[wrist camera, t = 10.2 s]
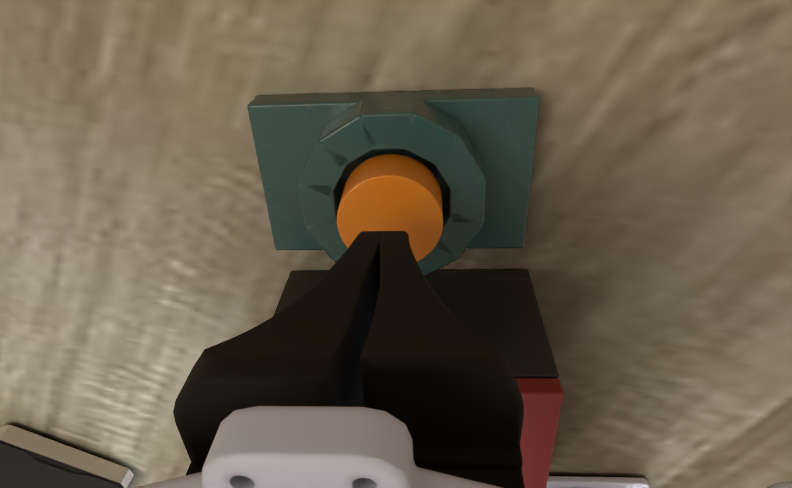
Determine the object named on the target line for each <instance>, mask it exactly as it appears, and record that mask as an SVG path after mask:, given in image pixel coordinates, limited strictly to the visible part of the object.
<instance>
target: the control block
mask: <svg viewBox="0 0 792 488" xmlns="http://www.w3.org/2000/svg"><path fill="white" fill-rule="evenodd" d="M539 103H540V98H539V96H538V94H537V93H536V91H535V89H534V88H505V89H470V90H435V91H399V92H364V93H329V94H294V95H258V96H256V97H255V98H254V99H253V100H252V101H251V102H250V103H249V104H248V111H249V117H250V122H251V127H252V132H253V137H254V142H255V147H256V152H257V158H258V163H259V168H260V173H261V178H262V183H263V188H264V193H265V198H266V204H267V209H268V214H269V219H270V224H271V229H272V234H273V239H274V244H275V249H276V250H325V251H326V253H327V254H328V255H329V256H330V258H331V259H334V261H336V262H337V261H338V260H339V259H340V257H341V256H342V255H343V254H344V252H345V251H346V250H347V249H348V248H347V246H346V245H345V244H344V242H343V240H342V238H341V236H340V234H339V231H338V227H337V211H338V208H339V204H340V201H341V197H342V194H343V191H344V187H345V184H346V182H347V179H348V177H349V176H350V174H351V173H352V172H353V170H354V169H355V168H356V167H357V166H358V165H360V164H361V163H363V162H364V161H366V160H368V159H370V158H372V157H375V156H379V155H383V154H399V155H404V156H408V157H411V158H413V159H415V160H417V161H419V162H421V163H422V164H423V165H425V166H426V167H427V168H428V169H429V170H430V171H431V172H432V173H433V175H434V176H435V177H436V179H437V181H438V183H439V186H440V189H441V194H442V210H443V230H442V234H441V237H440V239H439V241H438V243H437V245H436V246H435V247H434V249H433V250H432V251H431V252H430V253H429V254H428V255H427V256H425V257H424V258H423V259H421V260H419V261H418V262H417V263H418V265H419V267H420V269H421V271H422V273H423V275H426V274H429V273H431V272H433V271H435V270H437V269H439V268H441V267H443V266H445V265H447V264H449V263H451V262H454V261H456V260H457V259H459V258H460V256H461V255H462V254H463V252H464V251H465V249H466V248H523V247H524V245H525V235H526V226H527V216H528V207H529V197H530V188H531V179H532V169H533V160H534V150H535V141H536V131H537V122H538V112H539Z"/></svg>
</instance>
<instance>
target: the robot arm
mask: <svg viewBox="0 0 792 488" xmlns="http://www.w3.org/2000/svg"><path fill="white" fill-rule="evenodd" d="M173 412H174V417H175V422H176V425H177V428H178V430H179V433H180V435H181V438H182V440H183V443H184V445H185V448H186V450H187V452H188V455H189V457H190V460H191V464H190V466H189V469H188V471H187V473H186V476H182V477H177V478H173V479H169V480H165V481H160V482H156V483H152V484H147V485H143V486H139V487H135V488H525V486H524V480H523V475H522V469H521V468H522V465H523V460H522V454H521V448H520V441H521V433H522V426H523V418H524V403H523V398H522V394H521V391H520V388H519V385H518V383H517V380H516V378H515V375H514V373H513V371H512V369H511V367H510V365H509V363H508V361H507V359H506V357H505V355H504V353H503V352H502V351H501V350H500V349H498V348H497V347H495V346H493V345H492V344H490V343H488V342H487V341H485V340H484V339H482V338H480V337H479V336H477V335H476V334H475V333H473V332H472V331H471V330H470V329H468V328H467V327H466V326H465V325H464V324H463V323H462V322H461V321H460V320H459V319H457V318H456V317H455V316H454V315H453V314H452V313H451V312H450V310H449V309H448V308H447V307H446V306H445V305H444V304H443V302H442V301H441V300H440V299H439V297H438V296H437V295H436V293H435V292H434V291H433V289H432V288H431V286H430V285H429V283H428V281H427V280H426V278H425V277H424V275H423V273H422V271H421V269H420V267H419V265H418V263H417V261H416V259H415V257H414V254H413V252H412V249H411V246H410V242H409V234H408V233H407V232H406V231H361V232H360V233H359V234H358V235H357V237H356V238H355V239H354V241H353V242H352V243H351V245H350V246H349V247H348V249H347V250H346V251H345V252H344V254H343V255H342V256H341V257H340V259H339V260H338V261H337V262H336V263H335V264H334V266H333V267H332V268H331V269H330V270H329V271H328V272H327V273H326V274H325V275H324V276H323V277H322V278H321V279H320V280H319V281H318V282H317V283H316V284H315V285H314V286H313V287H312V288H311V289H310V290H309V291H308V292H307V293H306V294H304V295H303V296H302V297H301V298H299V299H298V300H297V301H296V302H294V303H293V304H292V305H290V306H289V307H287V308H286V309H284V310H283V311H281V312H280V313H278V314H277V315H275V316H274V317H272V318H270V319H269V320H267V321H265V322H264V323H262V324H260V325H258V326H256V327H254V328H253V329H251V330H249V331H247V332H245V333H243V334H241V335H238V336H236V337H234V338H232V339H229V340H227V341H224V342H222V343H220V344H217V345H215V346H212V347H210V348H207V349H205V350H204V351H203V353H202V355H201V356H200V358H199V359H198V361H197V362H196V363H195V365H194V367H193V369H192V370H191V372H190V374H189V376H188V378H187V380H186V382H185V384H184V386H183V388H182V389H181V391H180V393H179V395H178V397H177V399H176V401H175V406H174V411H173ZM546 488H650V486H649V483H648V481H647V480H646V479H644V478H632V477H577V476H548V480H547V486H546ZM767 488H792V482H781V483H775V484H773V485H771V486H768V487H767Z"/></svg>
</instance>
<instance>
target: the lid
mask: <svg viewBox="0 0 792 488" xmlns="http://www.w3.org/2000/svg"><path fill="white" fill-rule="evenodd" d="M516 380H517V383H518V385H519V388H520V391H521V394H522V398H523V403H524V418H523V426H522V433H521V441H520V448H521V454H522V460H523V465H522V468H521V469H522V475H523V480H524V486H525V488H546V486H547V480H548V475H549V470H550V464H551V459H552V453H553V448H554V443H555V437H556V432H557V426H558V421H559V416H560V410H561V405H562V400H563V394H564V393H563V390H562V386H561V383H560V380H559V379H558V378H516Z"/></svg>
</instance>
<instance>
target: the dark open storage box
mask: <svg viewBox="0 0 792 488" xmlns="http://www.w3.org/2000/svg"><path fill="white" fill-rule="evenodd" d="M327 272H328V271H292V272H291V273H290V275H289V278H288V280H287V282H286V285H285V288H284V290H283V293H282V295H281V298H280V301H279V303H278V306H277V309H276V311H275V314H274V316H275V315H277V314H278V313H280V312H281V311H283V310H284V309H286V308H287V307H289V306H290V305H292V304H293V303H294V302H296V301H297V300H298V299H299V298H301V297H302V296H303V295H304V294H306V293H307V292H308V291H309V290H310V289H311V288H312V287H313V286H314V285H315V284H316V283H317V282H318V281H319V280H320V279H321V278H322V277H323V276H324V275H325V274H326V273H327ZM424 277H425V278H426V280H427V281H428V283H429V285H430V286H431V288H432V289H433V291H434V292H435V293H436V295H437V296H438V297H439V299H440V300H441V301H442V302H443V304H444V305H445V306H446V307H447V308H448V309H449V310H450V312H451V313H452V314H453V315H454V316H455V317H456V318H457V319H459V320H460V321H461V322H462V323H463V324H464V325H465V326H466V327H467V328H468V329H470V330H471V331H472V332H473V333H475V334H476V335H477V336H479V337H480V338H482V339H484V340H485V341H487V342H488V343H490V344H492V345H493V346H495V347H497V348H498V349H500V350H501V351H502V352H503V353H504V355H505V357H506V359H507V361H508V363H509V365H510V367H511V369H512V371H513V373H514V375H515V378H558V379H559V375H558V371H557V368H556V364H555V361H554V357H553V354H552V351H551V347H550V344H549V340H548V337H547V333H546V330H545V326H544V323H543V320H542V316H541V313H540V309H539V306H538V302H537V299H536V296H535V292H534V289H533V285H532V282H531V279H530V276H529V272H528V270H435V271H433V272H431V273H429V274H426V275H424ZM274 316H273V317H274Z"/></svg>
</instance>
